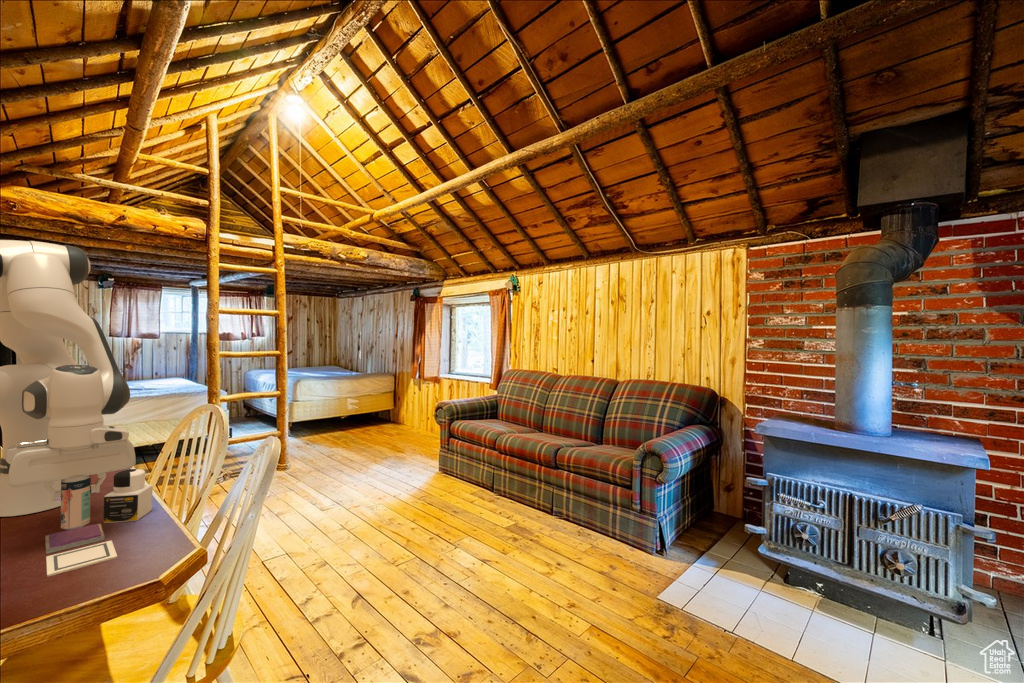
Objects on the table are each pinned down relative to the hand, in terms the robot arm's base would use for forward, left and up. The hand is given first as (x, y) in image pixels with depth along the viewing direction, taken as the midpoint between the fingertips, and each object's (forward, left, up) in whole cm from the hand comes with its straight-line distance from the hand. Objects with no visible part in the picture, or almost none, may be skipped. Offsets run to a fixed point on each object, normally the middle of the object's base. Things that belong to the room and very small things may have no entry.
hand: (76, 496), depth 96 cm
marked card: (+12, 0, -10) cm, 16 cm away
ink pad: (0, 0, -10) cm, 10 cm away
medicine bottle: (-8, +10, -10) cm, 17 cm away
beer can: (0, 0, -7) cm, 7 cm away
